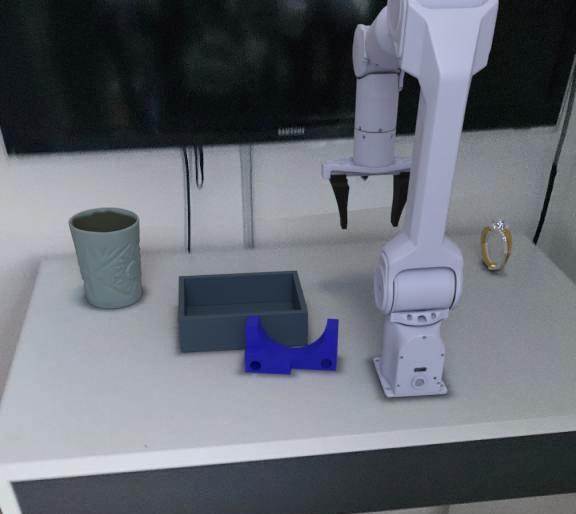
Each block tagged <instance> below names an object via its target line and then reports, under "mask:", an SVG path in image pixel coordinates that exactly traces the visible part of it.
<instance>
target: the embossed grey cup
mask: <svg viewBox="0 0 576 514" xmlns="http://www.w3.org/2000/svg"><path fill="white" fill-rule="evenodd" d="M68 228H69V231H70V235H71V238H72V242H73V247H74V251H75V255H76V259H77V265H78V268H79V273H80V276H81V279H82V281H83V288H84V289H83V290H84V293H85V297H86V300H87V301H88V303H89V304H90V305H92V306H94V307H96V308H100V309H111V310H112V309H120V308H126V307H129V306H131V305H133V304H135V303H137V302H138V301H140V299H141V297H142V296H143V282H142V260H141V259H142V254H141V247H140V241H141V237H140V235H141V230H140V218H139V215H138V214H137V213H136V212H134V211H132V210H129V209H125V208H120V207H96V208H90V209H85V210H82V211H80V212H77V213H75V214H73V215H72V216H71V217H69V220H68Z"/></svg>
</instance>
